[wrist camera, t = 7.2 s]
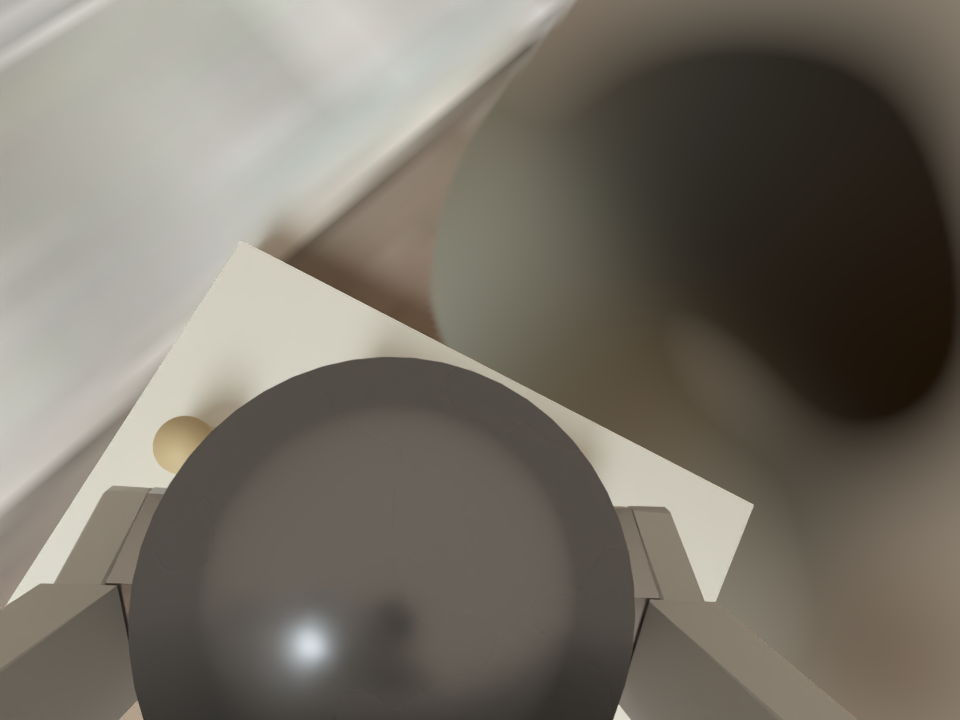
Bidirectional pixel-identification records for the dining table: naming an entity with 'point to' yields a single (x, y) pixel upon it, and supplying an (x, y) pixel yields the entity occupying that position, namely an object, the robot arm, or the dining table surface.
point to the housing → (333, 339)
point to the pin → (383, 560)
